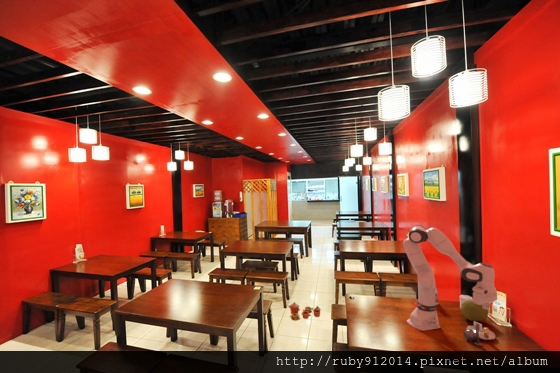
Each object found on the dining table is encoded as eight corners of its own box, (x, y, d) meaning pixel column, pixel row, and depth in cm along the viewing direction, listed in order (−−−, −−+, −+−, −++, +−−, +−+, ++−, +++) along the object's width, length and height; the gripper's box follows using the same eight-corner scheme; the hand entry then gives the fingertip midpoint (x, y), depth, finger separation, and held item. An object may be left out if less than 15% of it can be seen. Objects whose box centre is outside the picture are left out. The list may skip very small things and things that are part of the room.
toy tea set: (291, 322, 192) (291, 309, 192) (286, 312, 207) (286, 301, 207) (323, 317, 197) (322, 305, 197) (316, 308, 212) (316, 297, 212)
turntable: (464, 333, 168) (464, 323, 168) (469, 324, 179) (468, 314, 179) (493, 343, 158) (493, 331, 158) (496, 333, 168) (496, 322, 168)
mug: (476, 308, 204) (475, 296, 204) (480, 313, 196) (479, 300, 196) (458, 306, 208) (458, 294, 208) (462, 311, 200) (461, 298, 200)
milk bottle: (425, 302, 217) (424, 279, 218) (433, 301, 218) (433, 278, 218) (431, 306, 210) (430, 282, 210) (440, 305, 210) (439, 282, 210)
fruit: (484, 318, 189) (484, 298, 189) (491, 327, 176) (490, 306, 176) (459, 314, 196) (458, 295, 196) (463, 323, 183) (463, 302, 183)
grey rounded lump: (473, 340, 164) (471, 343, 161) (463, 333, 168) (461, 335, 165) (478, 334, 162) (476, 337, 159) (468, 326, 166) (466, 329, 163)
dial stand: (479, 346, 156) (478, 325, 156) (471, 342, 160) (471, 322, 160) (483, 345, 158) (482, 324, 158) (475, 341, 162) (475, 321, 162)
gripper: (489, 284, 173) (489, 303, 173) (470, 288, 165) (470, 309, 165) (500, 287, 167) (500, 308, 167) (481, 292, 159) (480, 313, 160)
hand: (485, 308), depth 166 cm, fingers closed
